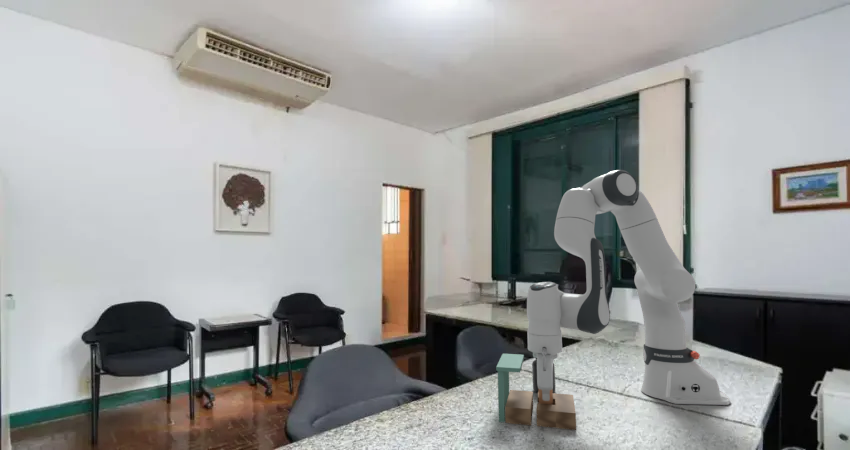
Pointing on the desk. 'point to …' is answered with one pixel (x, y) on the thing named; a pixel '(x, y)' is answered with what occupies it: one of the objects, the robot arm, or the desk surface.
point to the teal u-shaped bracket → (506, 378)
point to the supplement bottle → (534, 374)
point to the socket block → (541, 410)
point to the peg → (543, 400)
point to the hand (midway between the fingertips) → (546, 396)
